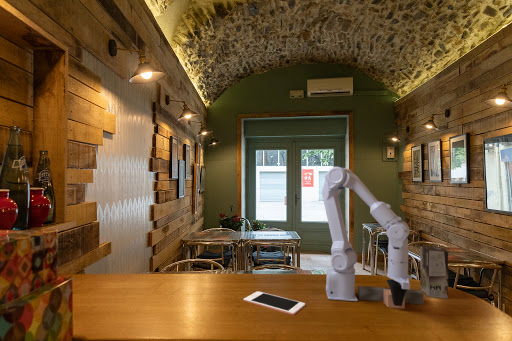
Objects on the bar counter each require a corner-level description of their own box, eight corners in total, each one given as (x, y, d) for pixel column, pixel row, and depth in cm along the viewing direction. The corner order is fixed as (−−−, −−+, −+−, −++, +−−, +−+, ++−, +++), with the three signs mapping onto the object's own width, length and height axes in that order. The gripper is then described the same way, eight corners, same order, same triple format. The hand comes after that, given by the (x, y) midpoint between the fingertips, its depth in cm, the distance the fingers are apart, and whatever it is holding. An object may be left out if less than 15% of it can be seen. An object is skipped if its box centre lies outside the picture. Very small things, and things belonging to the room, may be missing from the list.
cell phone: (257, 293, 104) (257, 290, 104) (305, 306, 95) (306, 303, 95) (242, 301, 97) (242, 298, 97) (293, 316, 87) (293, 313, 87)
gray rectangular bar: (359, 299, 101) (359, 288, 101) (357, 296, 104) (357, 285, 104) (423, 304, 98) (423, 293, 98) (419, 300, 101) (419, 290, 101)
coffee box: (448, 299, 103) (449, 251, 104) (428, 297, 104) (428, 250, 105) (438, 289, 112) (438, 246, 113) (419, 288, 113) (419, 244, 114)
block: (387, 307, 95) (388, 294, 95) (383, 301, 100) (383, 288, 100) (404, 308, 94) (404, 295, 94) (399, 302, 99) (399, 290, 99)
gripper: (421, 267, 86) (421, 316, 85) (403, 255, 100) (402, 297, 100) (395, 266, 87) (394, 314, 86) (381, 254, 101) (380, 295, 101)
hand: (397, 305), depth 93 cm, fingers closed
